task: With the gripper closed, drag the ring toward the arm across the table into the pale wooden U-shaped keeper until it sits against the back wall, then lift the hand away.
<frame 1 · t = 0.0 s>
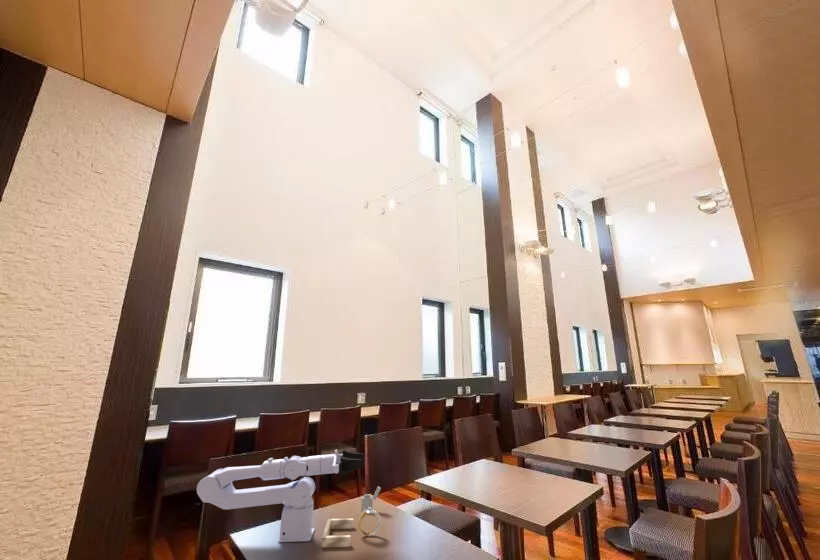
hand: (363, 460, 115), 22 cm above the table, tool horizontal, fingers open, 7 cm apart
ring: (369, 536, 109), on the table
keeper: (340, 536, 108), on the table
lighter: (370, 511, 128), on the table
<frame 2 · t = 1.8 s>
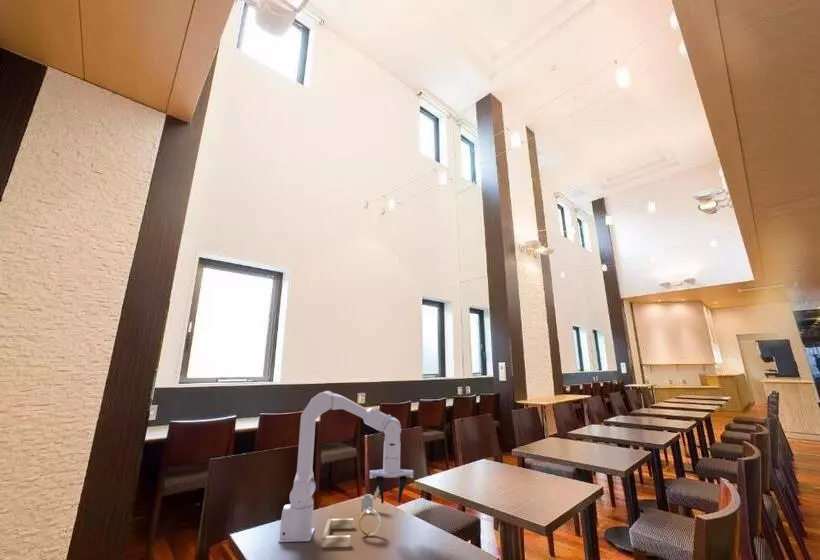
hand: (390, 502, 112), 9 cm above the table, tool pointing down, fingers open, 5 cm apart
nothing on the table moved.
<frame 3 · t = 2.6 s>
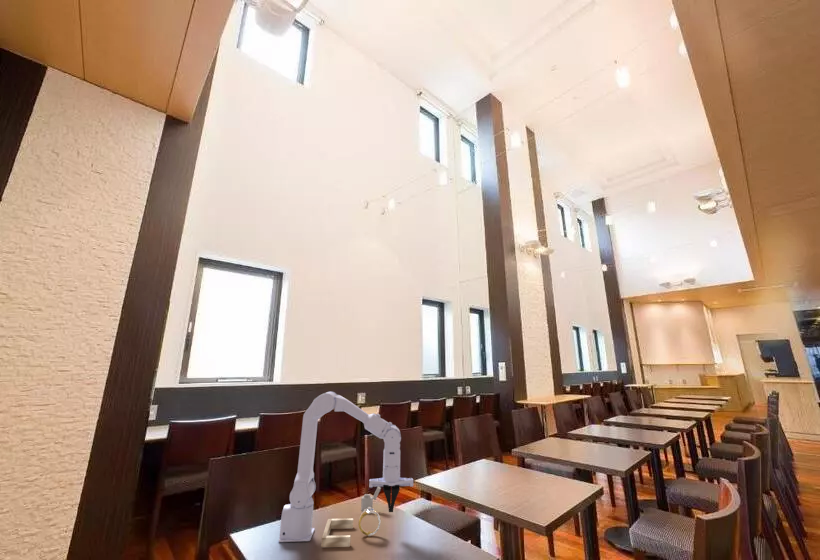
hand: (390, 511, 111), 7 cm above the table, tool pointing down, fingers closed
nothing on the table moved.
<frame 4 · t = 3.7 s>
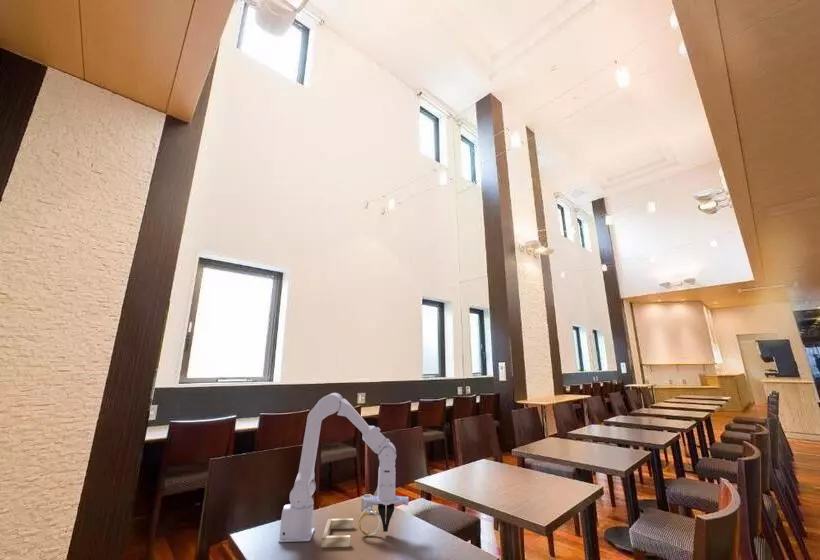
hand: (385, 530, 110), 1 cm above the table, tool pointing down, fingers closed
ring: (369, 536, 109), on the table, touching gripper
everything else where it was.
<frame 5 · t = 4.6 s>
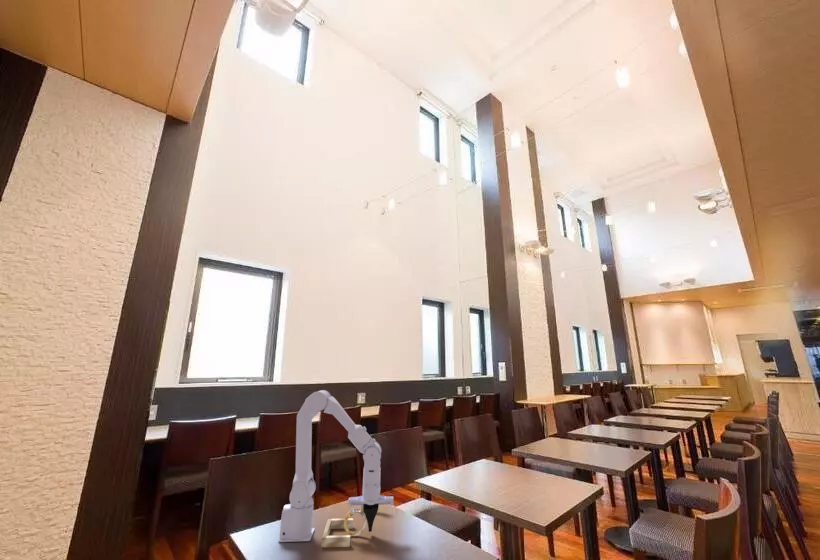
hand: (370, 530, 109), 1 cm above the table, tool pointing down, fingers closed
ring: (354, 536, 109), on the table, touching gripper
everything else where it was.
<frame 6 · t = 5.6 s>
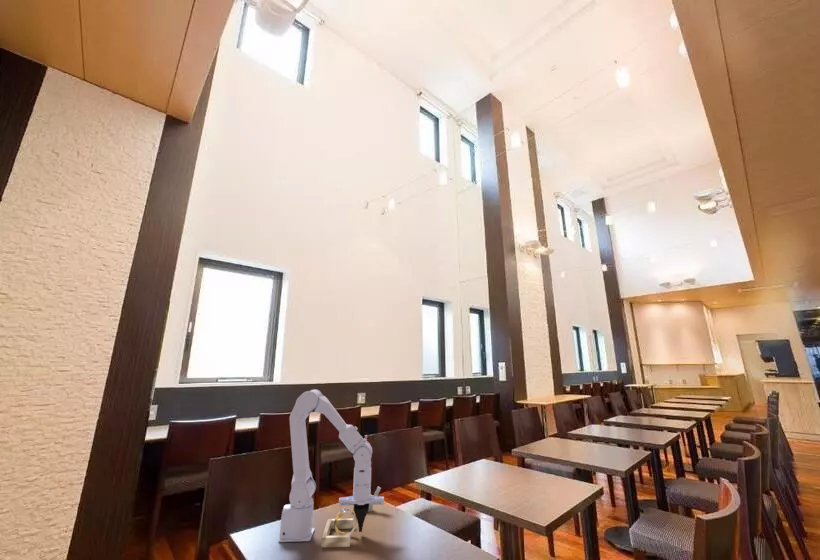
hand: (360, 530, 109), 2 cm above the table, tool pointing down, fingers closed
ring: (345, 537, 108), on the table, touching gripper
everything else where it was.
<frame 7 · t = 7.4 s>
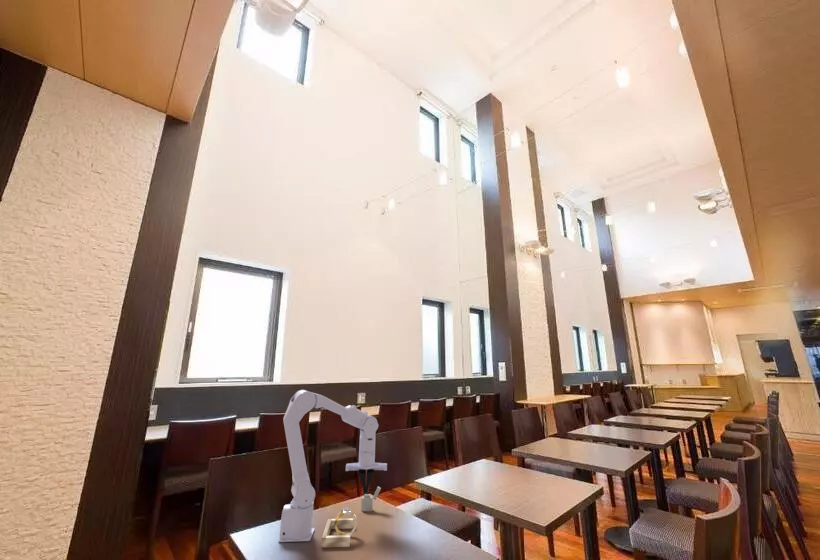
hand: (365, 493, 119), 9 cm above the table, tool pointing down, fingers closed
ring: (345, 537, 108), on the table
everything else where it was.
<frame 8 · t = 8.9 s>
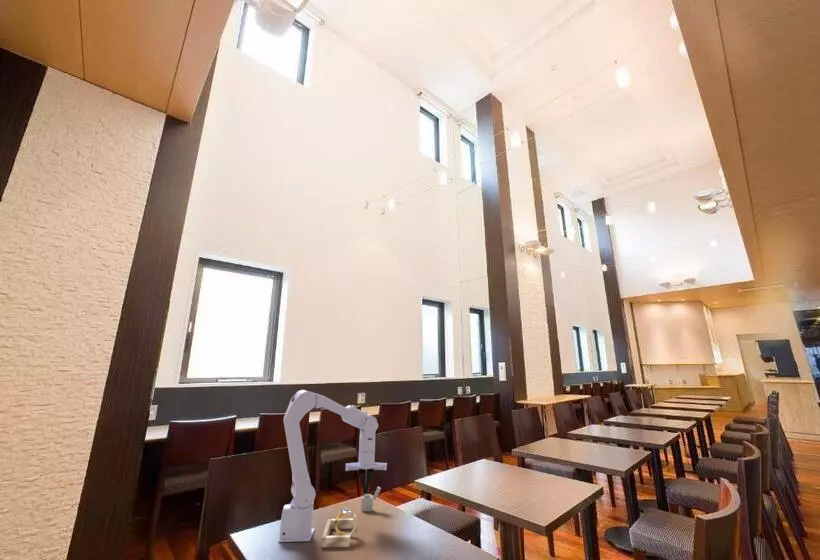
hand: (365, 492, 120), 9 cm above the table, tool pointing down, fingers closed
nothing on the table moved.
at the end: ring inside the target area on the keeper (2.1 cm from its centre), point 0.0 cm above the keeper's base; ring moved 7.6 cm from its start; the gripper is holding nothing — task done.
